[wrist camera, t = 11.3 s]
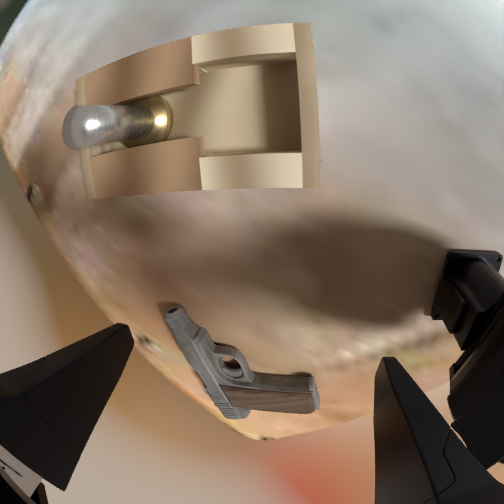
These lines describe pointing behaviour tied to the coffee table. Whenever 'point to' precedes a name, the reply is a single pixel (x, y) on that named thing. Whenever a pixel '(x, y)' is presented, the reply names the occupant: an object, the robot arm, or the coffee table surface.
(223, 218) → the coffee table surface
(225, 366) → the handgun
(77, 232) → the coffee table surface
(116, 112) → the peg
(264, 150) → the keyhole board
